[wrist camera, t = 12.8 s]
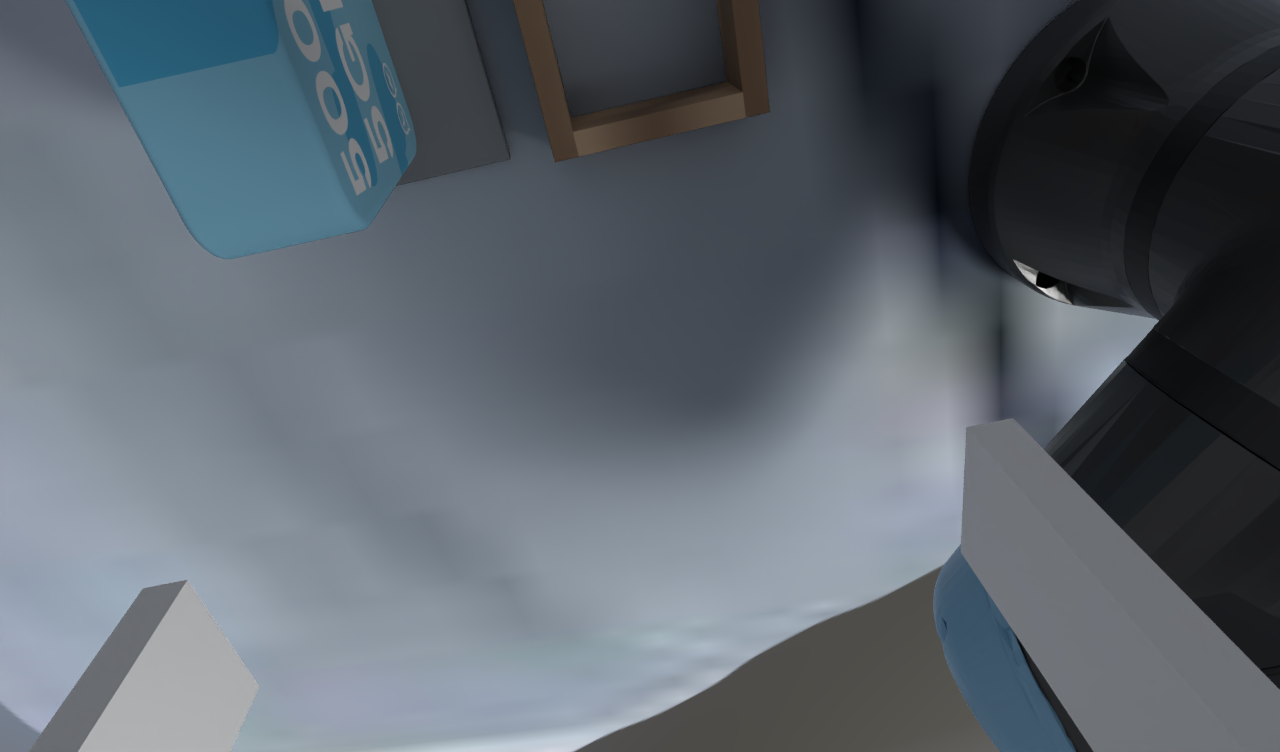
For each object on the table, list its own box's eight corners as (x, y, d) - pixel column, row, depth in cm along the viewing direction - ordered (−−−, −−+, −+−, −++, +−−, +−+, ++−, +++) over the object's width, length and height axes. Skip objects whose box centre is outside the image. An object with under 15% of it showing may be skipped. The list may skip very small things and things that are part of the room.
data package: (423, 149, 31) (362, 244, 21) (320, 171, 31) (208, 278, 21) (306, -199, 25) (138, -306, 15) (178, -170, 25) (-79, -259, 15)
